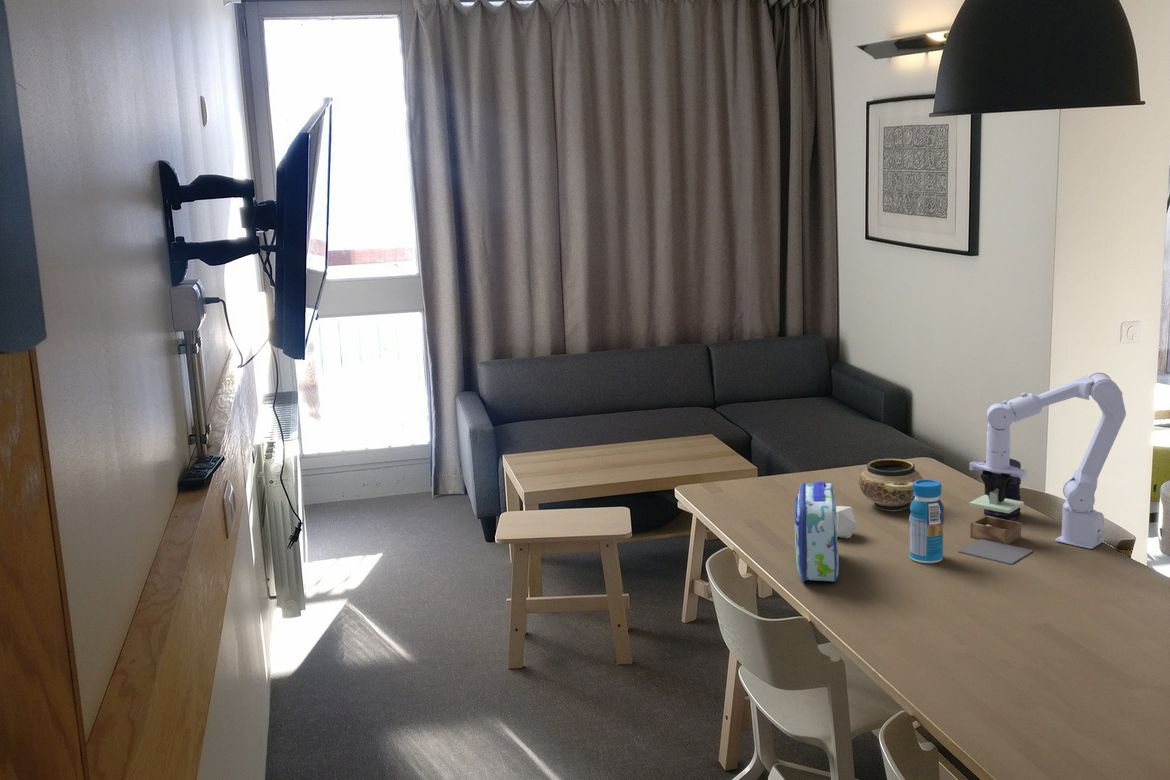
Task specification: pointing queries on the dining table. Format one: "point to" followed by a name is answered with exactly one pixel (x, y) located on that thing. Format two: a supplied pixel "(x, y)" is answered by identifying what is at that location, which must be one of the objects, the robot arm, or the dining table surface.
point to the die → (845, 521)
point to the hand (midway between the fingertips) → (996, 500)
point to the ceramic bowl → (889, 483)
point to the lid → (996, 503)
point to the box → (996, 530)
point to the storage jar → (1008, 496)
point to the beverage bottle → (926, 522)
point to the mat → (996, 551)
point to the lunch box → (816, 532)
